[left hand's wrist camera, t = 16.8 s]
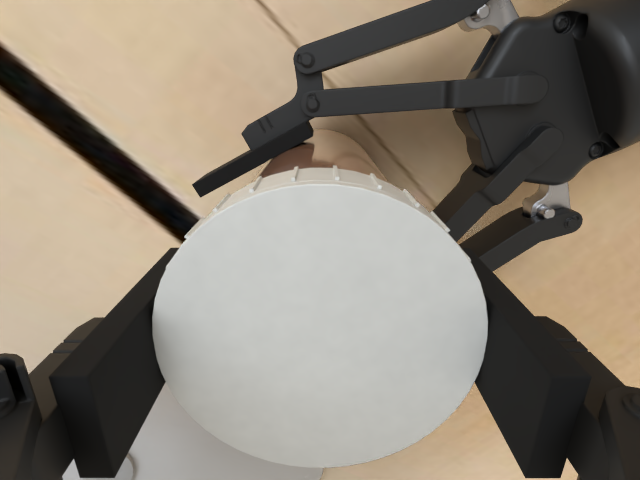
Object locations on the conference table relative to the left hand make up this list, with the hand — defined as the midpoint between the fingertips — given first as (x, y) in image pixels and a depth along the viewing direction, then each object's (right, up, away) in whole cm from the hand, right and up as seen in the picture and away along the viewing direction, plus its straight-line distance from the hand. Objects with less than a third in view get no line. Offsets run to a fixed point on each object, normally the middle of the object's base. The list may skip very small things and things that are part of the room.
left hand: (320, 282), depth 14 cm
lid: (0, -1, -3) cm, 3 cm away
